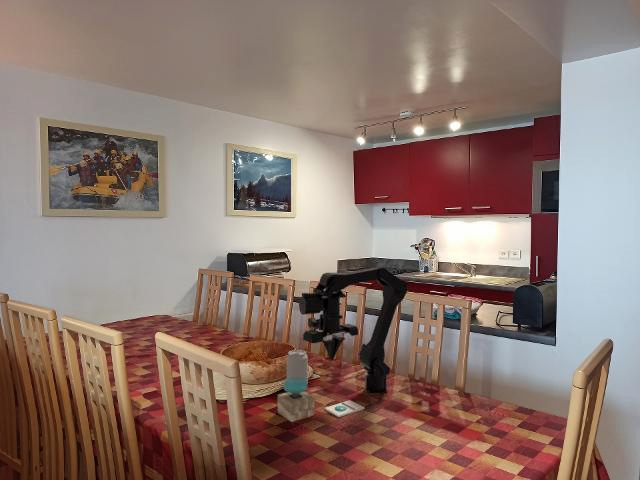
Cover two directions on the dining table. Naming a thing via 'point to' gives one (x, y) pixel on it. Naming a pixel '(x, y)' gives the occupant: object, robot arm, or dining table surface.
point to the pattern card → (344, 408)
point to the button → (295, 386)
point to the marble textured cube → (295, 406)
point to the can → (297, 364)
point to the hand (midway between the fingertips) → (331, 359)
